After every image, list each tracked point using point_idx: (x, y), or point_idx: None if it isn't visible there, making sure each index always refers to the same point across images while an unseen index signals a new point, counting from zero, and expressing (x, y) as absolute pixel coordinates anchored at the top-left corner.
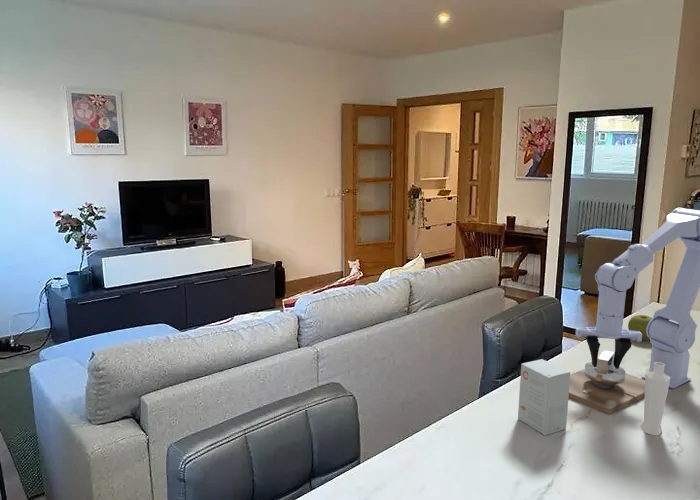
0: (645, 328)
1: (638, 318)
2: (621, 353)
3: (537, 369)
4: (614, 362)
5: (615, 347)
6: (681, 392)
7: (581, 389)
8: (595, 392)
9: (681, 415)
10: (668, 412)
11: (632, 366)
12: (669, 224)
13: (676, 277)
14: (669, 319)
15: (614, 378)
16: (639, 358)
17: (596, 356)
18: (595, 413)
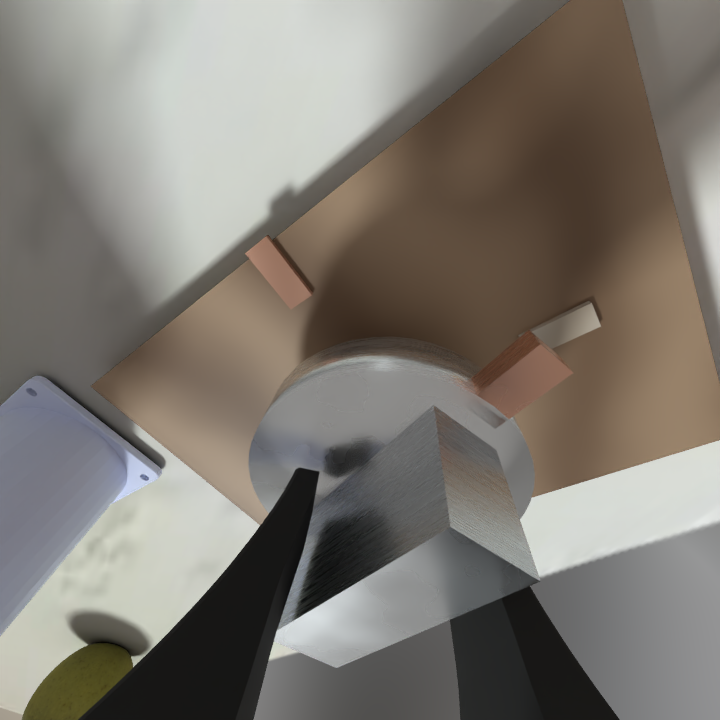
0: (68, 697)
1: None
2: (234, 629)
3: None
4: (306, 531)
5: (254, 712)
6: (7, 341)
7: (574, 356)
8: (506, 315)
9: (10, 6)
10: (96, 63)
11: (176, 540)
12: None
13: None
14: None
15: (382, 361)
16: (138, 576)
17: (520, 612)
18: (696, 12)
